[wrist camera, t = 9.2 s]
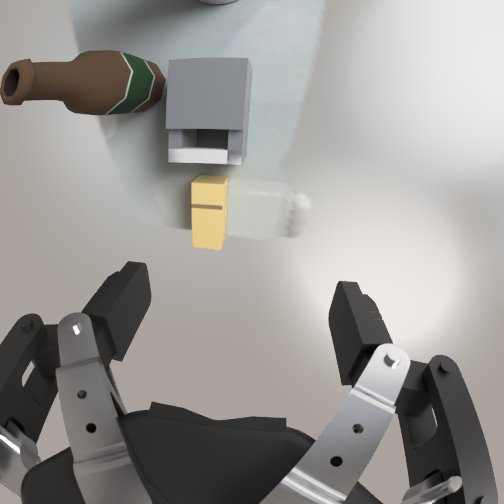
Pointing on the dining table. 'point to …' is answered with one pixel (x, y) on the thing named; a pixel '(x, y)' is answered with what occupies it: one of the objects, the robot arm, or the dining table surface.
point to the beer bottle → (87, 83)
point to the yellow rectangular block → (209, 211)
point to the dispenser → (208, 108)
